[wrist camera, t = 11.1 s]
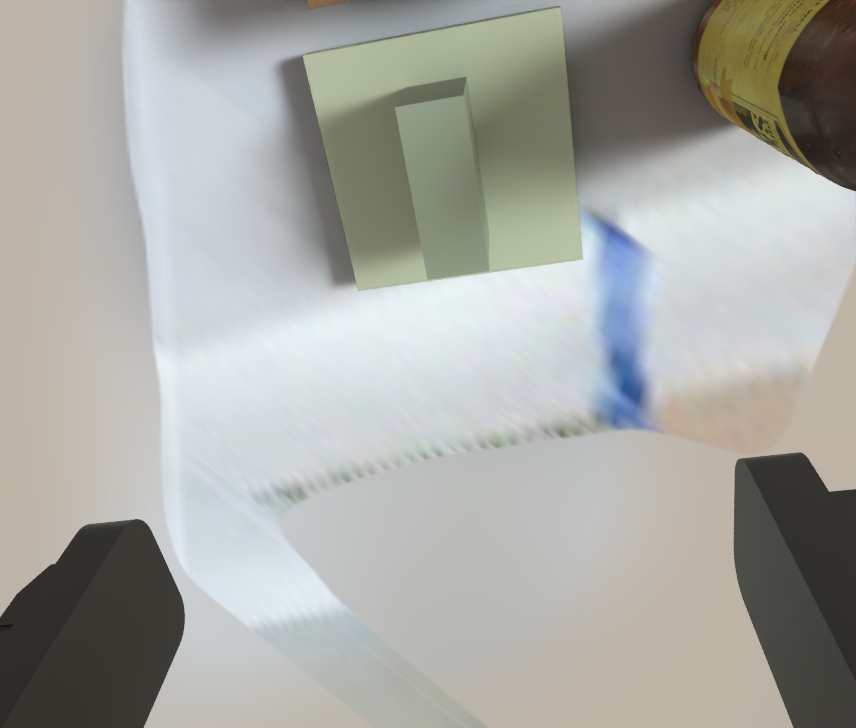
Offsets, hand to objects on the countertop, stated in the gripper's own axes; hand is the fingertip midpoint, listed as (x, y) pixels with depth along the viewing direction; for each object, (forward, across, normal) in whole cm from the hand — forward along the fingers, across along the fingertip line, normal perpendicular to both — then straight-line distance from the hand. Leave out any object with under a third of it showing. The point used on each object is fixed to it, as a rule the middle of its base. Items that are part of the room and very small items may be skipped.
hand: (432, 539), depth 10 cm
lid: (+27, +1, +1) cm, 27 cm away
